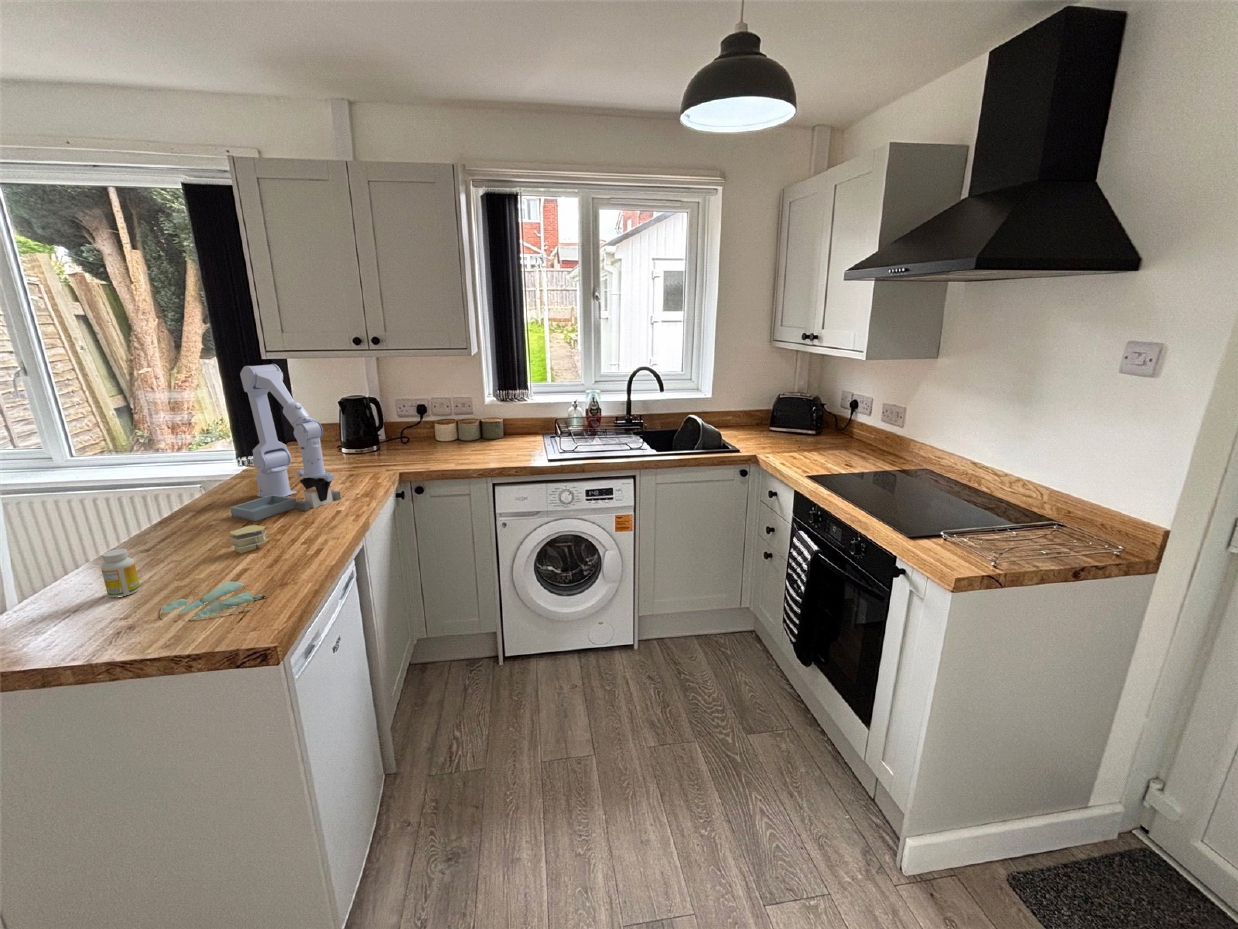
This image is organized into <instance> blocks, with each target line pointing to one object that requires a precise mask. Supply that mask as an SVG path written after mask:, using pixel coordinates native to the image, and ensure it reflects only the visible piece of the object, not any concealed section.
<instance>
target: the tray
mask: <svg viewBox="0 0 1238 929" xmlns="http://www.w3.org/2000/svg"><path fill="white" fill-rule="evenodd" d="M296 502H297V499H296V497H290V496H279V495H269V496H266V497H260V498H257V499H253V500H250V501H246V502H244V503H239V504H236V505H233V506H230V507H229V508H230V509H229V510H230V514H231V517H233V518H237V519H241V520H246V521H251V522H257V521H261V520H264V519H266V518H269V517H272V516H277V515H278V514H282V513H285V512H288V511H290V510H294V509H297V506H296Z"/></svg>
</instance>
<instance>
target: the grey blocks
mask: <svg viewBox="0 0 1238 929" xmlns="http://www.w3.org/2000/svg"><path fill="white" fill-rule="evenodd" d="M331 493H332V500H333V501H338V500H341V499H342V497H341V491H338V490H332V489H331ZM296 506H297V508H296V509H297V510H299V511H305V512H306V511H309V510H311V507H310V506H309V502H306V501H305V500H296Z"/></svg>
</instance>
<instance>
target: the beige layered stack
mask: <svg viewBox="0 0 1238 929" xmlns="http://www.w3.org/2000/svg"><path fill="white" fill-rule="evenodd" d="M265 528H266V526H264V525H256V524H253V525H247V526H244V527H241V528H238V529H234V530H231V531H230V532H229V534H232V535H231V536H230V537H229V538H230V539H232V542H233V543H231V546H232V547H233V548H234V551H235V552H237V553H240V554H244V553H247V552H250V551H254V550H257V546H260V545H262V544H263V543H266V542H267V541H268V538H267V537H266V533H267V531H266V530H265Z"/></svg>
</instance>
